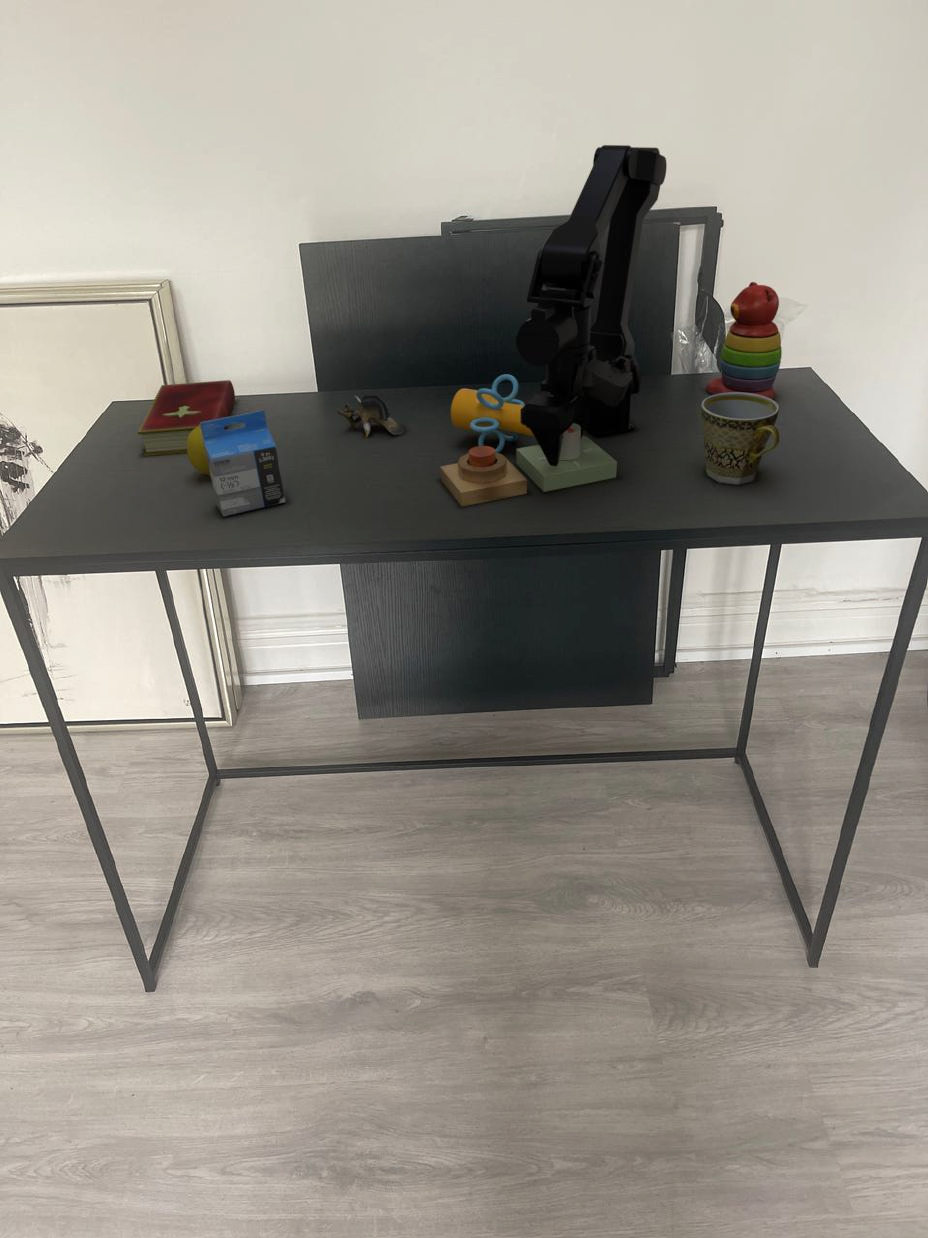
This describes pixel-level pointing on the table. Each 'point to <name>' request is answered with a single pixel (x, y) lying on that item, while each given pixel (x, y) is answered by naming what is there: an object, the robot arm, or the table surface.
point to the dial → (571, 443)
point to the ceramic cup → (737, 434)
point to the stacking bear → (751, 345)
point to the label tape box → (242, 463)
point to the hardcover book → (183, 414)
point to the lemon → (197, 451)
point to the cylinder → (489, 412)
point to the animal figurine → (371, 414)
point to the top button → (482, 456)
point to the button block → (482, 481)
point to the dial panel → (567, 466)
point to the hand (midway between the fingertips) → (565, 452)
